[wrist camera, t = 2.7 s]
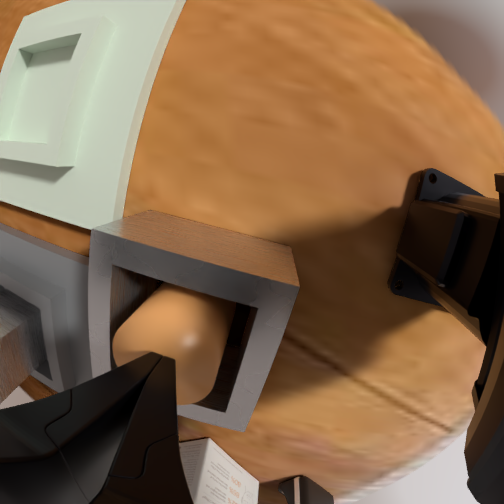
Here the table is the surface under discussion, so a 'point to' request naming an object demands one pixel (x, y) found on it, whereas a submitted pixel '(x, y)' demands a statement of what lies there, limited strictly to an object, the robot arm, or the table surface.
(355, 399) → the table surface
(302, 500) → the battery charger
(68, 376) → the charcoal socket
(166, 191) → the table surface
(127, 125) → the pale green socket
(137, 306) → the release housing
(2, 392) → the steel peg
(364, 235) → the table surface
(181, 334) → the tan egg
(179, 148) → the table surface
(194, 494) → the small box
